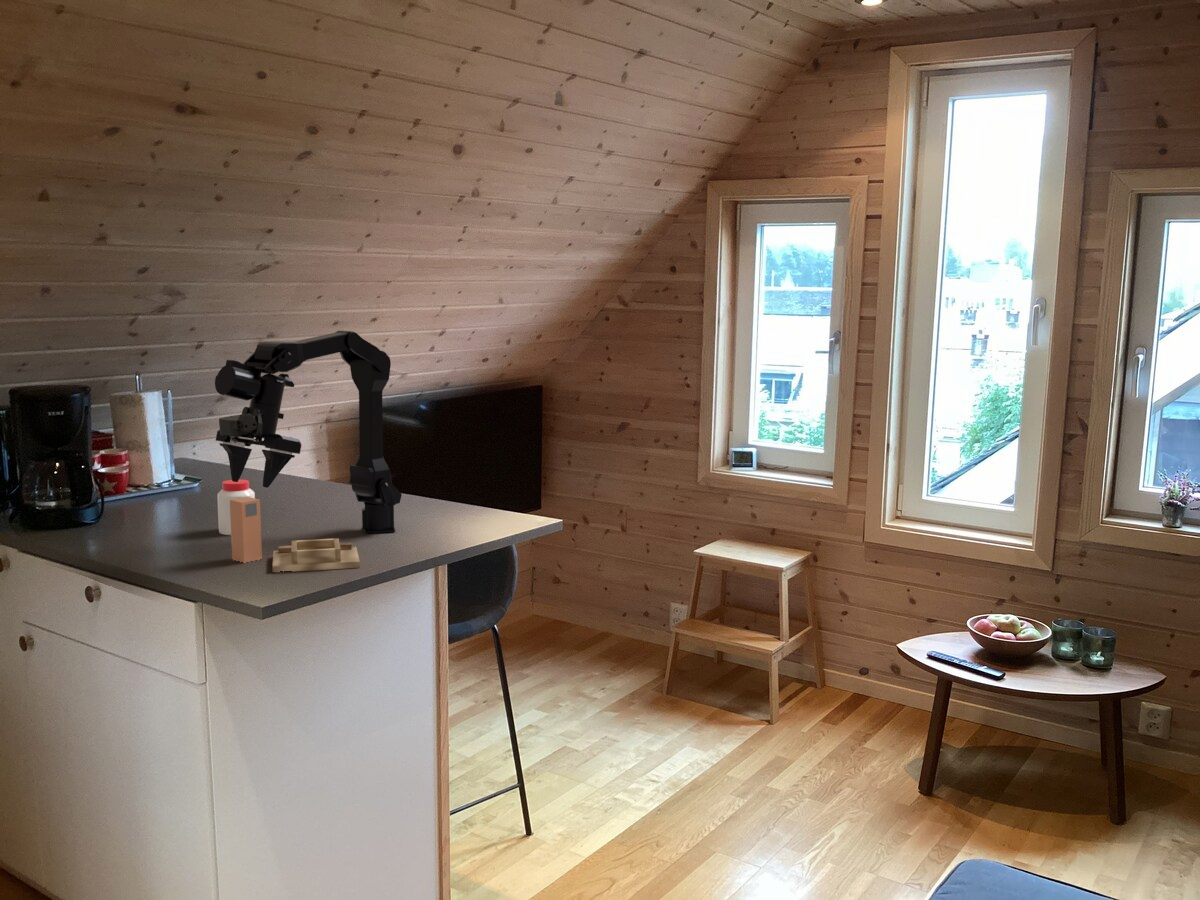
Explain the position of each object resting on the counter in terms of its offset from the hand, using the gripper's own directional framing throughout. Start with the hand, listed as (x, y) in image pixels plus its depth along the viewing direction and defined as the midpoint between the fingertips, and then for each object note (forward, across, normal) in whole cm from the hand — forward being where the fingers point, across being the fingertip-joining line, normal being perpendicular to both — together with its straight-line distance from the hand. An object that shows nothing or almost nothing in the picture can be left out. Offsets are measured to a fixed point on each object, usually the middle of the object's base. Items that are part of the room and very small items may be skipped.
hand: (249, 484), depth 206 cm
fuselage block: (+15, -2, +4) cm, 15 cm away
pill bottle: (+11, -24, +18) cm, 32 cm away
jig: (+13, +10, +11) cm, 20 cm away
